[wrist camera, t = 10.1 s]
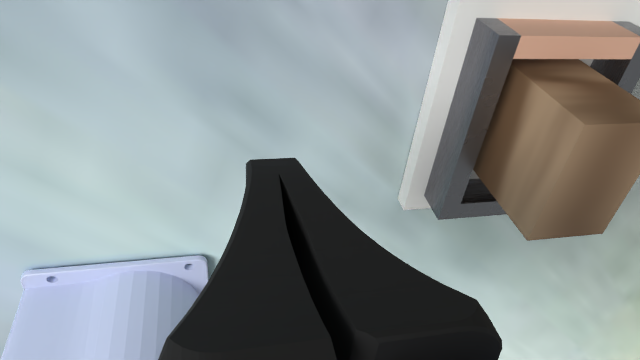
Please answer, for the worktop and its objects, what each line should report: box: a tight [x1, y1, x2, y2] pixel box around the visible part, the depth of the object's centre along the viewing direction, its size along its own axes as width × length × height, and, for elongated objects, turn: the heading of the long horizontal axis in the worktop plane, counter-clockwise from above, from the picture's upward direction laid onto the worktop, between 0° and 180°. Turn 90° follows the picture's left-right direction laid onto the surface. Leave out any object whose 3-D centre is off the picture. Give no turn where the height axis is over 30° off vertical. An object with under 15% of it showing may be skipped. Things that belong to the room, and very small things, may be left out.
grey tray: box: [398, 0, 640, 220], centre depth 24 cm, size 10×12×3 cm
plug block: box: [473, 59, 640, 241], centre depth 22 cm, size 4×6×6 cm, turn 174°
